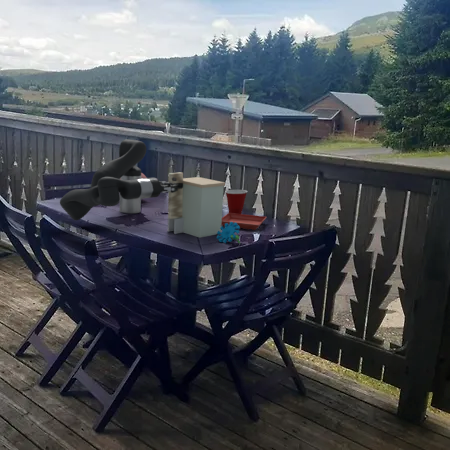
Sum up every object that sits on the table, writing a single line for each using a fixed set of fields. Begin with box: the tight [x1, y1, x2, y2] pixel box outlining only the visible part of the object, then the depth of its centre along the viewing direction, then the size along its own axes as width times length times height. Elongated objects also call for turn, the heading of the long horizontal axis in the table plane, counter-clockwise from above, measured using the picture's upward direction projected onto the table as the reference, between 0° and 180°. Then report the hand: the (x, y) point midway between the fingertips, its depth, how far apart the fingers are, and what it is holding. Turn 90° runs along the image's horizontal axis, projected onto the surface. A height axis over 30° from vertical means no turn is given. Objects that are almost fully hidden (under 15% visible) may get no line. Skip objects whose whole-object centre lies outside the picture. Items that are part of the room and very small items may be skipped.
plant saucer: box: [221, 212, 267, 231], centre depth 237 cm, size 18×18×3 cm
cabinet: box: [167, 176, 226, 238], centre depth 216 cm, size 17×15×21 cm
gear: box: [216, 222, 241, 244], centre depth 208 cm, size 11×6×10 cm
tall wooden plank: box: [167, 171, 184, 219], centre depth 212 cm, size 6×3×18 cm, turn 136°
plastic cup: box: [224, 189, 248, 214], centre depth 254 cm, size 11×11×12 cm
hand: (180, 185), depth 214 cm, fingers closed on tall wooden plank, 1 cm apart
